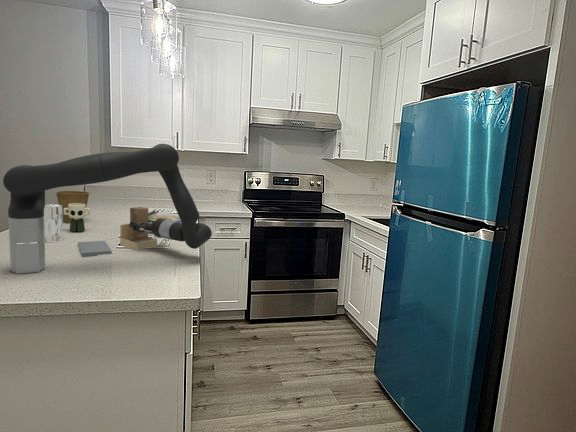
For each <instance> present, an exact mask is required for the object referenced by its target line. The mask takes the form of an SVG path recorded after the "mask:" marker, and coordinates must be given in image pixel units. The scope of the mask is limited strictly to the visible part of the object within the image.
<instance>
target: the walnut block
mask: <svg viewBox="0 0 576 432" xmlns="http://www.w3.org/2000/svg"><path fill="white" fill-rule="evenodd" d="M148 214H149V207H143V206H135V207H130V208H129V223H130V222H134V223H142V222H148ZM145 225H146V224H144V226H145ZM132 229H133V228H131V227H130V241H133V242H137V243H138V242H143V241H148V237H149V232H148V231H145V232H139V231H133V230H132Z"/></svg>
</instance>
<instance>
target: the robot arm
mask: <svg viewBox="0 0 576 432" xmlns="http://www.w3.org/2000/svg"><path fill="white" fill-rule="evenodd" d="M179 159H180V156H179V153H178V151H177V150H176V149H175V147H173V146H172V145H170V144H166V143H158V144H156V145H154V146H153V147H148V148H145V149H139V150H136V151H115V152H114V151H113V152H110V151H109V152H101V153H93V154H88V155H83V156H78V157H75V158H70V159H66V160H64V161H60V162H56V163H50V164H42V165H41V164H40V165H30V164H23V165H16V166H14V167H11V168H10V169H9V170H7V172H6V173H5V174H4V176H3V179H2V184H3V186H4V188H5V189H6V190H7V191H8V192H9V193H10V201H9V206H8V209H7V211H8V213H7V216H8V238H9V243H8V244H9V260H10V264H9V265H10V271H11V272H12V273H15V274H16V275H19V274H28V273H29V274H30V273H39V272H41V271H42V270H45V269H46V246H45V245H46V243H45V242H46V241H45V238H46V235H45V224H44V207H45V205H46V191H49V190H53V189H57V188H63V187H64V188H65V187H73V186H75V187H76V186H84V185H93V184H99V183H104V182H110V181H114V180H118V179H122V178H127V177H130V176H133V175H137V174H143V173H152V172H153V173H154V172H156V173H157V172H158V173H159V175H160V176H161V179H162V180H163V182H164V184H165V186H166V188H167V190H168V193H169V195H170V198H171V200H172V203H173V206H174V208H175V210H176V213H177V215H179V217H180V220H181V223H178V222H175V221H171V220H166V219H157V220H155V221H152V220H148V222H142V223H134V222H130V221H129V224H130V227H131V228H133V229H132V230H133V231H139V232H145V231H148V233H152V235H154V236H155V237H157V238H161V239H166V240H170V241H177V242H184V243H186V245H187V247H188V248H190V249H192V250H193V249H194V250H196V249H198V248H200V247H201V246H202V245H204V244H205V243H207V242H208V241H209V240H210V239H211V238H212V236H213V235H212V234H213V231H212V229H211V227H210V226H208V224H206V223H205V224H204V223H202V222H201V223H200V222H197V221H198V220H200V213H199V210H198V208H197V206H196V204H195V200H194V199H193V196H192V194H191V193H190V191H189V189H188V188H187V185H186V183H185V182H184V179H183V178H182V175H181V173H180V169H179V166H178V164H179ZM144 224H146V225H145V226H144Z"/></svg>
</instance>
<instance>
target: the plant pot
mask: <svg viewBox="0 0 576 432" xmlns="http://www.w3.org/2000/svg"><path fill="white" fill-rule="evenodd" d="M55 194H56V198H57V204H58V205H62V211H63V221H64V222H65V223H66V224H70V223H71V219H72V218H69V216H68V215H64V208H68V204H73V203H81V204H85V205H86V207H87V205H88V202H89V195H90V192H88V191H81V190H80V191H79V190H59V191H56V192H55ZM66 213H68V210H66ZM82 219H83V220H84V218H82Z"/></svg>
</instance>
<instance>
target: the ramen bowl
mask: <svg viewBox="0 0 576 432" xmlns="http://www.w3.org/2000/svg"><path fill="white" fill-rule="evenodd" d="M157 219H166V220H171V221H175V222H178V223H181V220H180V217H179V215H178V213H177V214H176V213H175V214H174V213H167V212H165V213H164V212H162V213H161V212H159V210H153V211H150V212H148V220H152V221H155V220H157Z"/></svg>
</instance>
